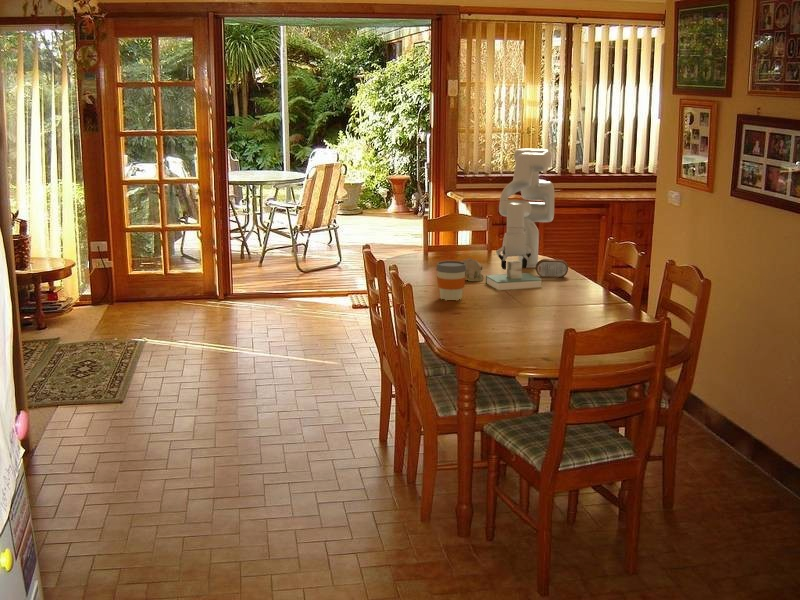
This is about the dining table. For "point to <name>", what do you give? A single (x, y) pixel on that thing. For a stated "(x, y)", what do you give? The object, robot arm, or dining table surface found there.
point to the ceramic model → (473, 270)
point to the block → (514, 269)
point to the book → (513, 282)
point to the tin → (551, 268)
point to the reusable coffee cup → (451, 279)
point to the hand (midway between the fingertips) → (514, 268)
